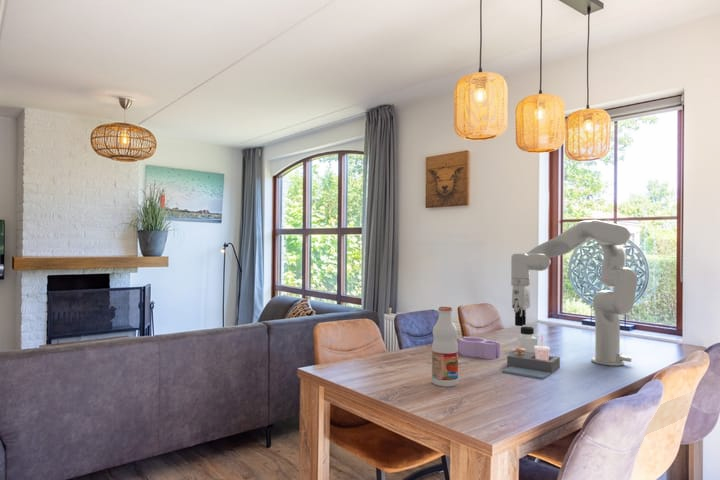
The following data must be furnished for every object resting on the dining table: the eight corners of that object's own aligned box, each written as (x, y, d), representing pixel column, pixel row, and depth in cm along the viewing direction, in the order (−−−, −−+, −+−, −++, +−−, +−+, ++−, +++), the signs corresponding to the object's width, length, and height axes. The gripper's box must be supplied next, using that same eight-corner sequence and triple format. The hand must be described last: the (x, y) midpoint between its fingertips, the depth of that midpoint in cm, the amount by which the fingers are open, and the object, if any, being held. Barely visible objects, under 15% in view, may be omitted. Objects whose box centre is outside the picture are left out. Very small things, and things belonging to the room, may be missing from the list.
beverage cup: (530, 367, 197) (530, 334, 197) (542, 366, 199) (542, 333, 199) (541, 371, 191) (541, 336, 191) (553, 369, 193) (553, 335, 194)
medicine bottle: (537, 353, 224) (537, 328, 224) (522, 353, 224) (522, 327, 224) (532, 350, 231) (532, 325, 231) (517, 349, 231) (517, 325, 231)
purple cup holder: (504, 356, 217) (504, 341, 217) (490, 361, 208) (490, 345, 209) (466, 349, 231) (466, 335, 231) (452, 353, 223) (452, 339, 223)
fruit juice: (437, 378, 179) (437, 305, 180) (461, 382, 175) (461, 306, 175) (428, 384, 171) (428, 307, 171) (453, 388, 166) (453, 309, 167)
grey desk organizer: (559, 367, 197) (559, 357, 197) (551, 373, 187) (551, 362, 187) (517, 361, 208) (517, 351, 208) (507, 366, 198) (507, 355, 198)
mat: (550, 374, 186) (550, 372, 186) (543, 379, 179) (543, 377, 179) (510, 368, 196) (510, 366, 196) (502, 372, 189) (502, 370, 189)
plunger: (526, 360, 201) (526, 348, 201) (523, 362, 198) (523, 350, 198) (517, 358, 204) (517, 347, 204) (514, 360, 200) (514, 348, 200)
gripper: (522, 283, 193) (522, 328, 192) (535, 281, 205) (535, 323, 205) (504, 282, 197) (504, 326, 197) (518, 280, 210) (518, 322, 210)
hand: (520, 324), depth 201 cm, fingers closed
